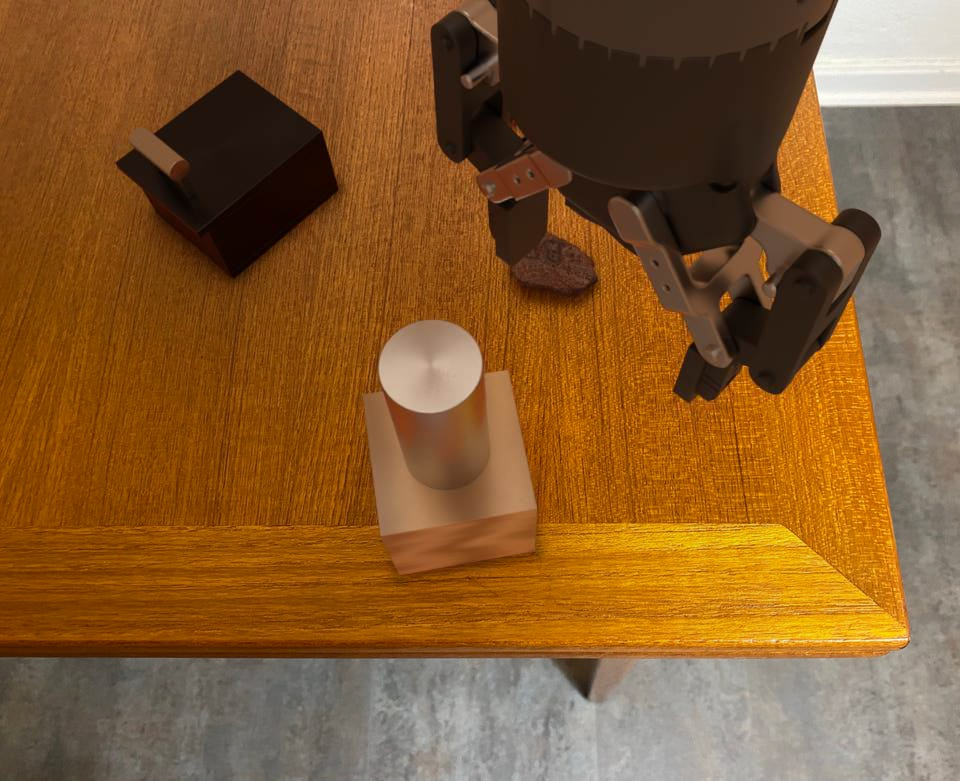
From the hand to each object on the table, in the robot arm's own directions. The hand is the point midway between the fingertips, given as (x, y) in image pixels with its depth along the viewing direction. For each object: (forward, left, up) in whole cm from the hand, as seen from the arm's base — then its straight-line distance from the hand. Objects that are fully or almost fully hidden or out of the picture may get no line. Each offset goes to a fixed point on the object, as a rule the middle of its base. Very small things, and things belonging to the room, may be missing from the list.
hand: (606, 312), depth 33 cm
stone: (+4, +24, -35) cm, 42 cm away
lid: (-21, +36, -28) cm, 50 cm away
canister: (-7, +6, -25) cm, 26 cm away
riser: (-7, +6, -35) cm, 36 cm away
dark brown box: (-21, +37, -35) cm, 55 cm away
